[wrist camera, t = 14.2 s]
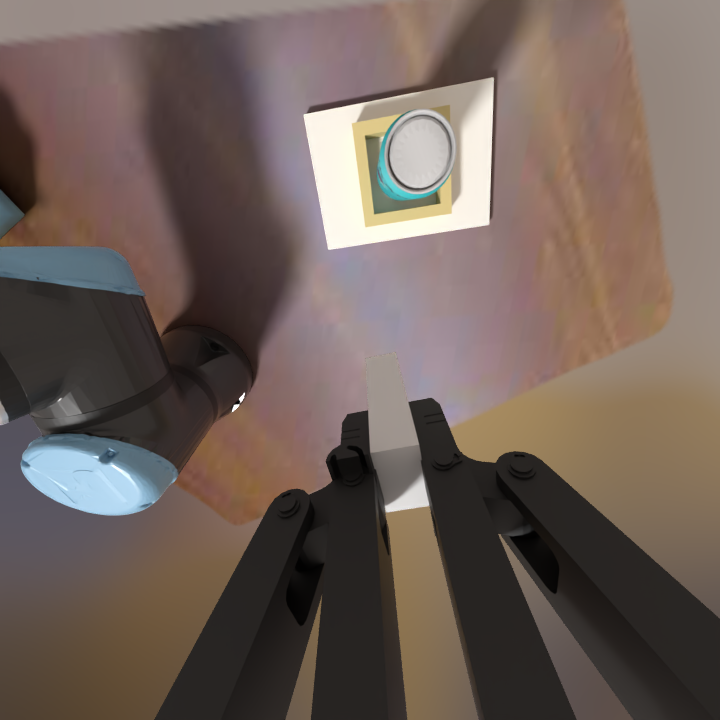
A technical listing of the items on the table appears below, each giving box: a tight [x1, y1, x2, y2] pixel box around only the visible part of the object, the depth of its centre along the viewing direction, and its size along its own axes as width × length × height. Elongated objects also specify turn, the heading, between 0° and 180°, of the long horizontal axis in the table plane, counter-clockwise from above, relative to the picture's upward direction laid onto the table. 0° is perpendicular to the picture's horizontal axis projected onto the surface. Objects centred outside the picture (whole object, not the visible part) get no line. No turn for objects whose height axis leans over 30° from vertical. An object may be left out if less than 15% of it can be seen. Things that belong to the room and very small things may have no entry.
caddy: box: [304, 77, 494, 250], centre depth 35 cm, size 20×14×4 cm
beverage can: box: [377, 109, 457, 201], centre depth 29 cm, size 6×6×15 cm
